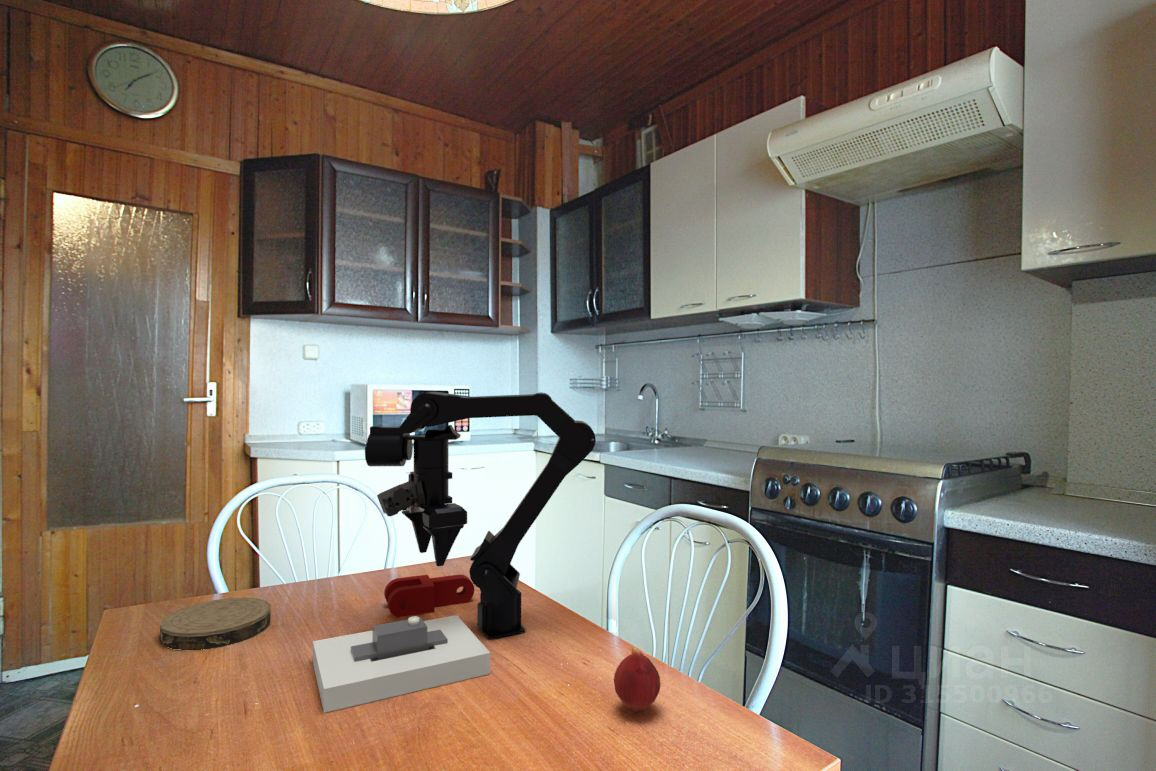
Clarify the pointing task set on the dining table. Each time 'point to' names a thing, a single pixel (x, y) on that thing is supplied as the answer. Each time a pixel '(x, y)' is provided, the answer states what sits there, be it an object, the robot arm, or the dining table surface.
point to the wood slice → (215, 623)
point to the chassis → (396, 666)
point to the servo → (398, 640)
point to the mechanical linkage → (426, 593)
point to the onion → (637, 681)
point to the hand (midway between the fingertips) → (431, 558)
